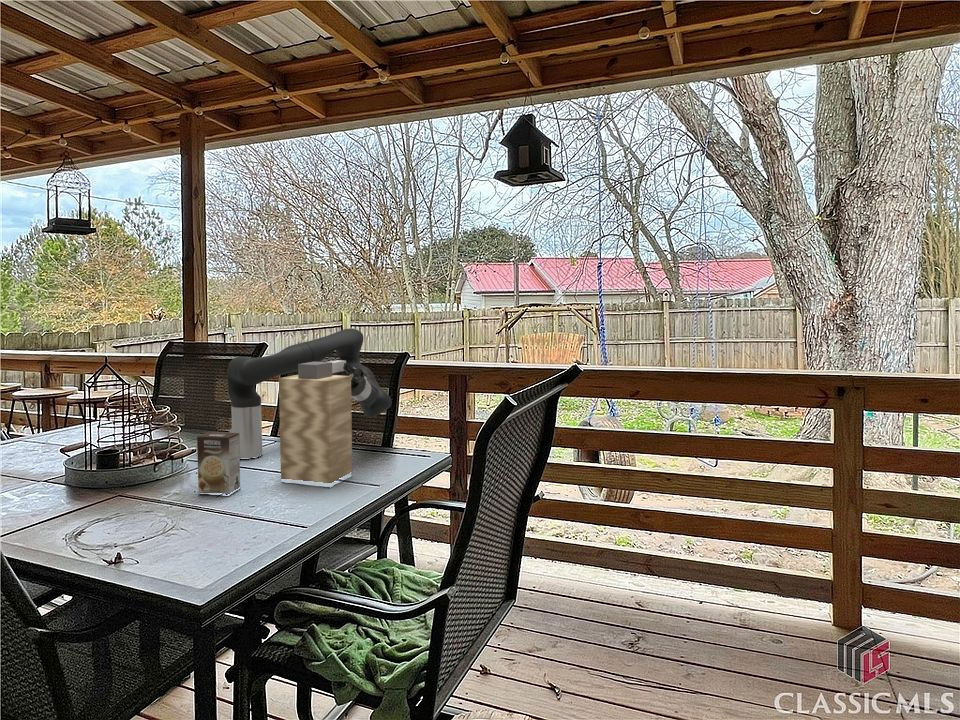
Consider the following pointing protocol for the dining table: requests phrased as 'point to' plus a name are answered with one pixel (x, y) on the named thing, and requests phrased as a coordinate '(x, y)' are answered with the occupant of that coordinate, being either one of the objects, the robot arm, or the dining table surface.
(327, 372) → the block
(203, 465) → the coffee box
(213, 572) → the dining table surface
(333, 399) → the pedestal
